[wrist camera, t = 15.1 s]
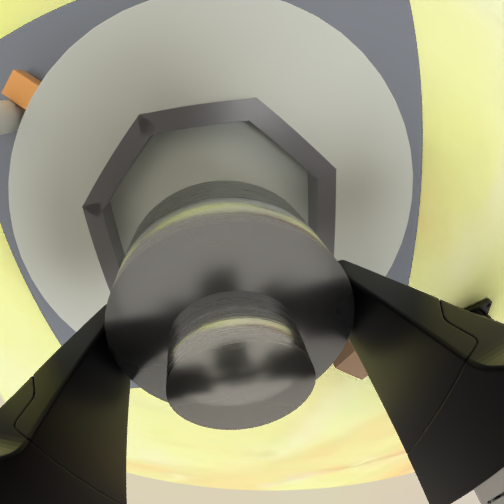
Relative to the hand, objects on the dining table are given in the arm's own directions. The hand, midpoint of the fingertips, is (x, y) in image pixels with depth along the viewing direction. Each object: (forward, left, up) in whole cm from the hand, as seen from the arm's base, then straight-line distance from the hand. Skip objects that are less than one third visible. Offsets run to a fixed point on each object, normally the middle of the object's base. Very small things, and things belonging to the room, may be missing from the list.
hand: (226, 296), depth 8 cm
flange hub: (0, 0, -1) cm, 1 cm away
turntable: (+1, -1, -7) cm, 7 cm away
